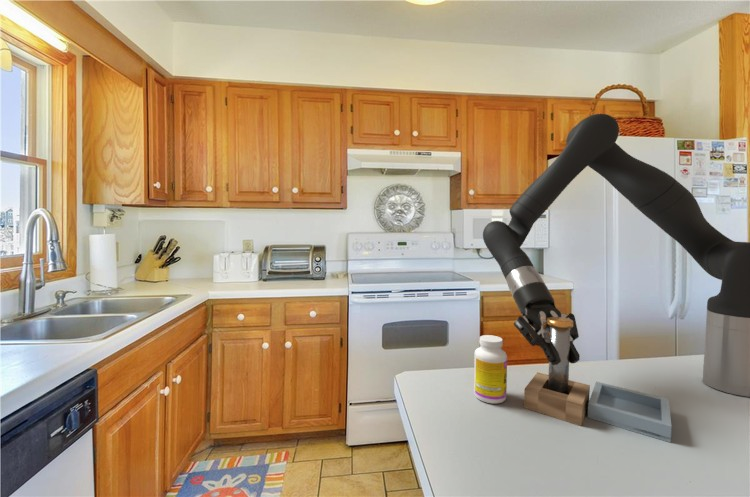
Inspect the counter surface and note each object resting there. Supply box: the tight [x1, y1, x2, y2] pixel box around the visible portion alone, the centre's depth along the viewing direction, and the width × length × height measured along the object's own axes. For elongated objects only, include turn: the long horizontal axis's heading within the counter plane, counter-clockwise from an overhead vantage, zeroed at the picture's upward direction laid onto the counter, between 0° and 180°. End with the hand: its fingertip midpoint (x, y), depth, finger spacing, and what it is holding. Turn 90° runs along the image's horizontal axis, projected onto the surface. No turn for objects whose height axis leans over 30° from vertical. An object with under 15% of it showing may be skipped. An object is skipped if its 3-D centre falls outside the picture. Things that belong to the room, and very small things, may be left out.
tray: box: [587, 381, 672, 444], centre depth 66 cm, size 12×12×3 cm
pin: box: [547, 317, 573, 395], centre depth 69 cm, size 5×5×16 cm
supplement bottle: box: [473, 334, 508, 405], centre depth 72 cm, size 7×7×13 cm
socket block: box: [523, 372, 591, 427], centre depth 69 cm, size 10×10×4 cm
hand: (566, 362), depth 67 cm, fingers closed on pin, 3 cm apart
